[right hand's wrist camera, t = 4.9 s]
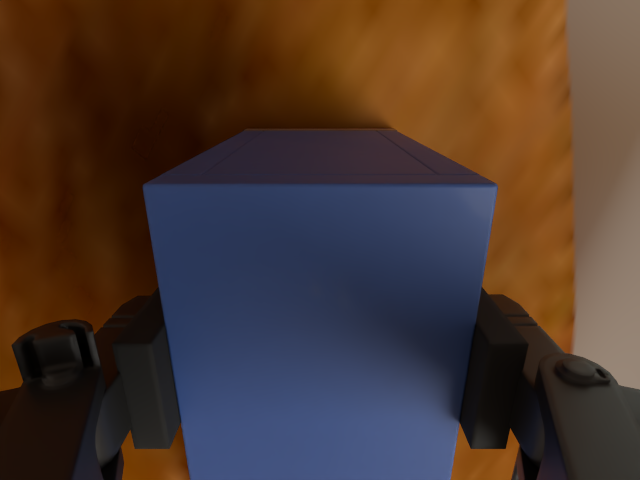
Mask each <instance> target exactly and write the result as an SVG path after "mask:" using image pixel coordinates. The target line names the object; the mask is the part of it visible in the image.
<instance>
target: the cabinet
mask: <svg viewBox="0 0 640 480" xmlns="http://www.w3.org/2000/svg"><path fill="white" fill-rule="evenodd" d="M497 189H498V186H497V184H496V183H494V182H492V181H490V180H488V179H486V178H484V177H482V176H480V175H479V174H477V173H475V172H473V171H471V170H469V169H468V168H466V167H464V166H462V165H460V164H458V163H456V162H454V161H452V160H450V159H449V158H447V157H445V156H443V155H441V154H439V153H437V152H435V151H433V150H431V149H430V148H428V147H426V146H424V145H422V144H420V143H418V142H416V141H414V140H412V139H410V138H409V137H407V136H405V135H403V134H401V133H399V132H397V130H395V129H393V128H324V129H245V130H243V132H241V133H239V134H237V135H235V136H233V137H231V138H229V139H228V140H226V141H224V142H222V143H220V144H218V145H216V146H214V147H212V148H211V149H209V150H207V151H205V152H203V153H201V154H199V155H197V156H195V157H193V158H192V159H190V160H188V161H186V162H184V163H182V164H180V165H178V166H176V167H175V168H173V169H171V170H169V171H167V172H165V173H163V174H161V175H160V176H158V177H156V178H154V179H153V180H151V181H149V182H147V183H145V184H143V193H144V199H145V205H146V212H147V218H148V224H149V230H150V236H151V242H152V248H153V254H154V261H155V267H156V273H157V279H158V285H159V291H160V297H161V304H162V310H163V316H164V322H165V328H166V334H167V340H168V346H169V353H170V359H171V365H172V371H173V377H174V383H175V389H176V396H177V402H178V408H179V414H180V420H181V426H182V432H183V438H184V445H185V451H186V457H187V463H188V469H189V475H190V480H450V478H451V472H452V466H453V460H454V454H455V447H456V441H457V435H458V429H459V423H460V417H461V411H462V404H463V398H464V392H465V386H466V380H467V374H468V367H469V361H470V355H471V349H472V343H473V337H474V331H475V324H476V318H477V312H478V306H479V300H480V294H481V288H482V281H483V275H484V269H485V263H486V257H487V251H488V245H489V238H490V232H491V226H492V220H493V214H494V208H495V202H496V195H497Z"/></svg>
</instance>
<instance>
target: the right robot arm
mask: <svg viewBox="0 0 640 480" xmlns="http://www.w3.org/2000/svg"><path fill="white" fill-rule="evenodd" d="M12 348H13V351H14V354H15V357H16V360H17V363H18V366H19V369H20V372H21V376H22V379H23V384H22V386H21V387H19V388H15V389H10V390H5V391H0V480H122V474H123V466H124V460H123V454H122V450H121V445H122V443H123V442H124V440H125V438H126V436H127V434H128V433H129V431H130V429H131V434H132V438H133V443H134V447H135V449H170V446H171V444H172V442H173V439H174V437H175V434H176V432H177V430H178V427H179V425H180V423H181V420H180V414H179V408H178V402H177V396H176V389H175V383H174V377H173V371H172V365H171V359H170V353H169V346H168V340H167V334H166V328H165V322H164V316H163V310H162V304H161V297H160V291H159V287H158V288H157V289H156V291H155V292H154V293H153V294H152V296H137V297H135V298H133V299H132V300H130V301H128V302H126V303H125V304H123V305H122V306H121V307H120V308H119V309H118V310H117V311H116V312H115V313H114V314H113V315H112V318H109V320H108V321H107V322H106V323H105V324H104V325H103V327H101V328H100V329H99V330H98V331H97V333H96V334H95V335H94V332H93V328H92V325H91V324H89V323H88V322H86V321H83V320H76V319H73V320H61V321H57V322H52V323H48V324H45V325H43V326H40V327H37V328H35V329H32V330H31V331H29V332H27V333H26V334H24V335H22V336H21V337H19V338H18V339H17V340H16V341H15V342H14V343H13V344H12ZM460 424H461V426H462V429H463V431H464V434H465V436H466V438H467V441H468V443H469V445H470V448H471V449H506V444H507V440H508V435H509V431H510V428H511V430H512V432H513V433H514V435H515V437H516V439H517V440H518V442H519V444H520V445H519V450H518V454H517V458H516V462H515V466H514V471H513V475H512V479H511V480H640V390H639V389H634V388H629V387H624V386H620V385H618V383H617V381H616V380H615V379H614V377H613V376H612V375H611V374H610V373H609V372H608V371H607V370H605V369H604V368H603V367H601V366H600V365H598V364H596V363H594V362H592V361H590V360H588V359H586V358H583V357H580V356H576V355H572V354H567V353H564V352H563V351H562V350H561V348H560V347H559V346H558V345H557V344H556V343H555V342H554V341H553V340H552V339H551V338H550V337H549V336H548V335H547V333H546V332H545V331H544V330H543V329H542V328H541V327H540V326H537V323H536V322H535V321H534V320H533V318H532V317H529V314H528V313H527V312H526V311H525V310H524V309H523V308H522V307H521V306H520V305H519V304H518V303H517V302H515V301H513V300H511V299H510V298H508V297H506V296H504V295H488V294H487V293H486V291H485V290H484V289H483V288H481V294H480V300H479V306H478V312H477V318H476V324H475V331H474V337H473V343H472V349H471V355H470V361H469V367H468V374H467V380H466V386H465V392H464V398H463V404H462V411H461V417H460Z"/></svg>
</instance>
